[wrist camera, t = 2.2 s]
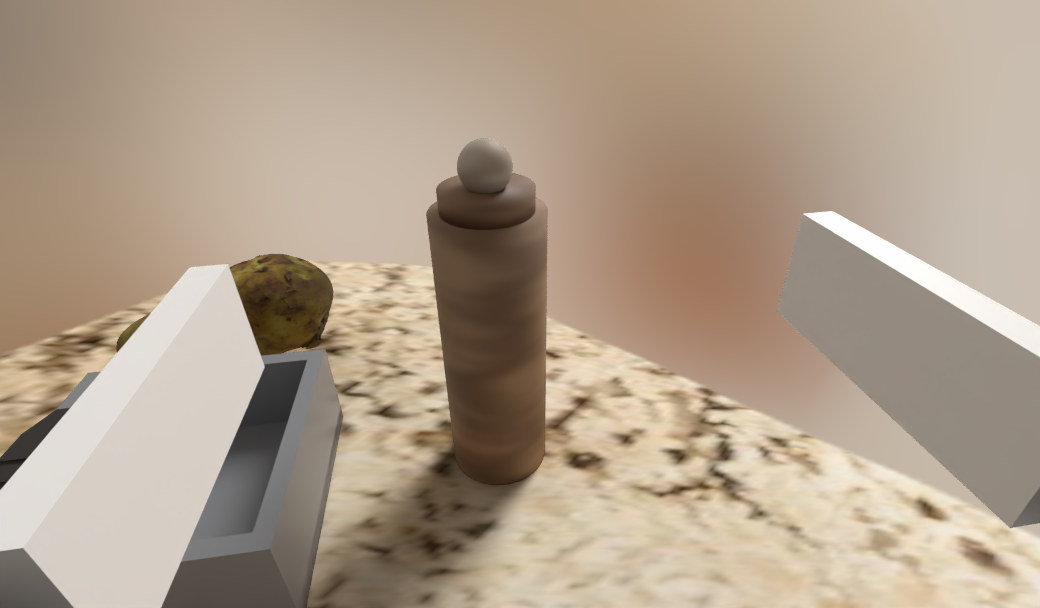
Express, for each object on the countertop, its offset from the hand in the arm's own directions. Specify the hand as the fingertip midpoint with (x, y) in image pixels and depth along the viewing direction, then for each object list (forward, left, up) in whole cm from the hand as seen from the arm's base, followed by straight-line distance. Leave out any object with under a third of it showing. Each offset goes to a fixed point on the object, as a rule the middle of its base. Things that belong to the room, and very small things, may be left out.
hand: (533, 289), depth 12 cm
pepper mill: (0, +10, -16) cm, 19 cm away
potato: (-16, +20, -16) cm, 30 cm away
